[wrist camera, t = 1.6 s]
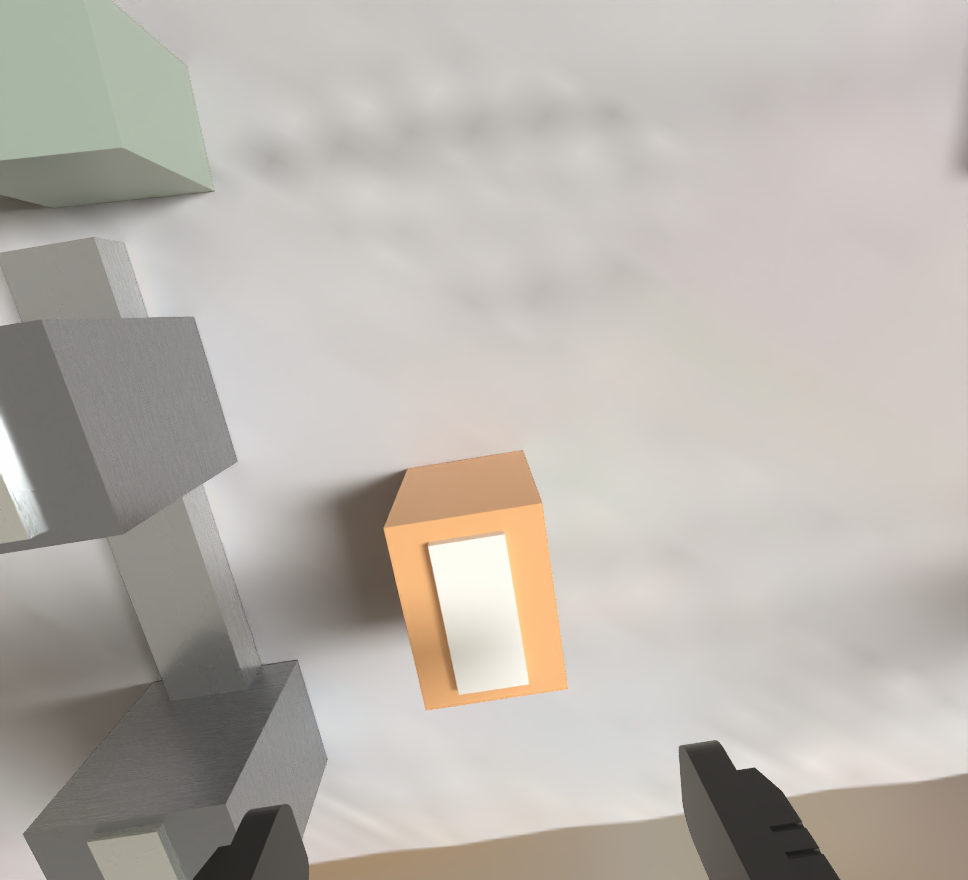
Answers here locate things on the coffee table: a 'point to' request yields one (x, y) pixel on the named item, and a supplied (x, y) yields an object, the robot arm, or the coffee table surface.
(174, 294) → the coffee table surface
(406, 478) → the orange module
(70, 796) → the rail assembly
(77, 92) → the green block
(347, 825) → the coffee table surface
